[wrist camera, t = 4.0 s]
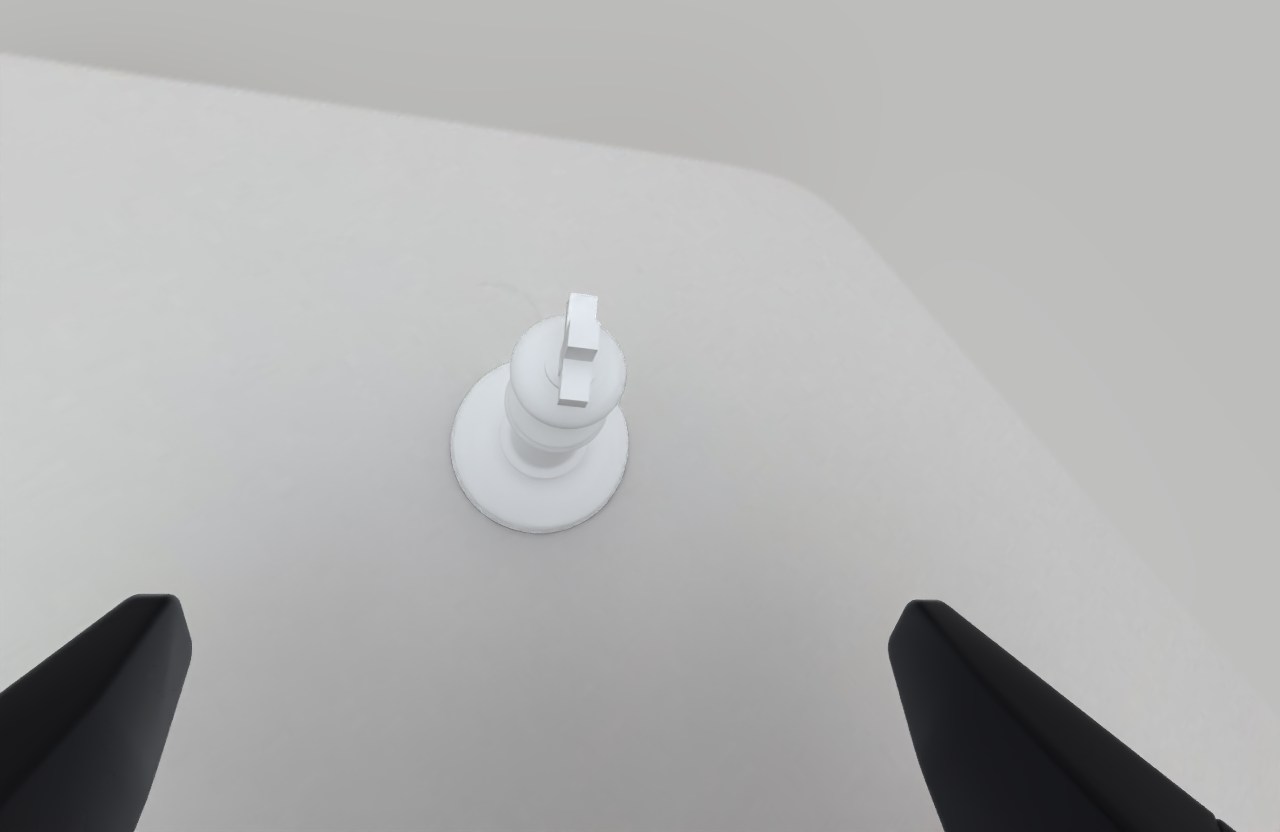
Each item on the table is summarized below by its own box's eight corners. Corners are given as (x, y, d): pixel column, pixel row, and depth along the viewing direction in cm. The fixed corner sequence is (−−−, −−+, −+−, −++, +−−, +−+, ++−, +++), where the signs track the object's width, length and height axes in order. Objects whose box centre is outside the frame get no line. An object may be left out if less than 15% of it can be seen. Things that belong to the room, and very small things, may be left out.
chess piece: (439, 525, 19) (378, 489, 9) (462, 350, 20) (430, 150, 10) (620, 540, 19) (740, 520, 10) (632, 371, 21) (753, 205, 11)
